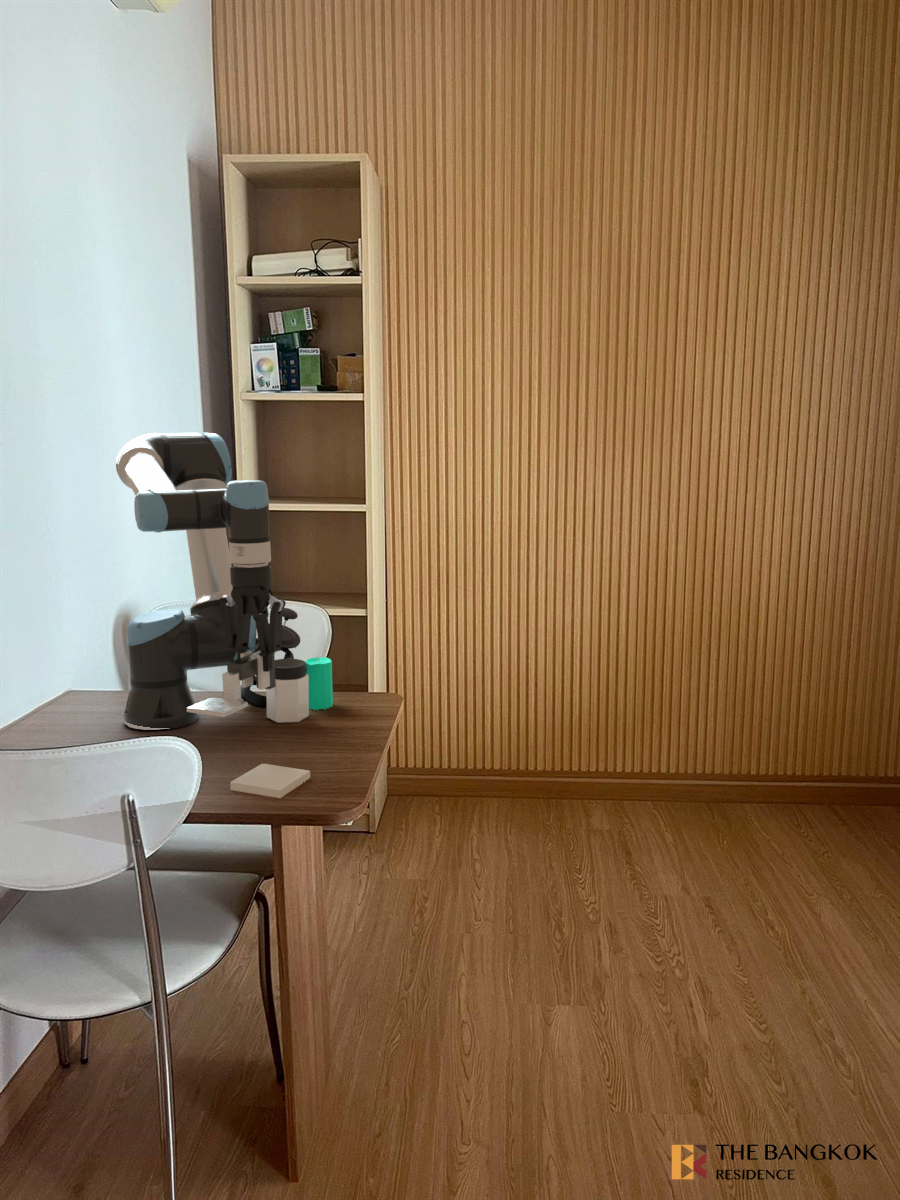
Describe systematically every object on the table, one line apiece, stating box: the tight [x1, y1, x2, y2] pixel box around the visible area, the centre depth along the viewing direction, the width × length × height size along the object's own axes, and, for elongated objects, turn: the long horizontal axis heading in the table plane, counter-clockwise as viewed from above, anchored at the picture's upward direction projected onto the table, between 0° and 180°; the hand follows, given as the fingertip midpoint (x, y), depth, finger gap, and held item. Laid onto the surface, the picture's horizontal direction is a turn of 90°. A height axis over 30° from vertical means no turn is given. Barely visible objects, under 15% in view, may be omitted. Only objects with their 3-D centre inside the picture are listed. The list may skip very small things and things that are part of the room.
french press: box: [240, 607, 301, 710], centre depth 212 cm, size 12×9×23 cm
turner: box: [187, 651, 276, 718], centre depth 177 cm, size 20×8×7 cm, turn 157°
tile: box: [229, 763, 311, 799], centre depth 170 cm, size 2×10×10 cm
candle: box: [305, 656, 334, 711], centre depth 215 cm, size 6×6×12 cm
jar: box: [265, 658, 310, 724], centre depth 206 cm, size 9×8×12 cm
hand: (255, 686), depth 183 cm, fingers closed on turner, 3 cm apart
